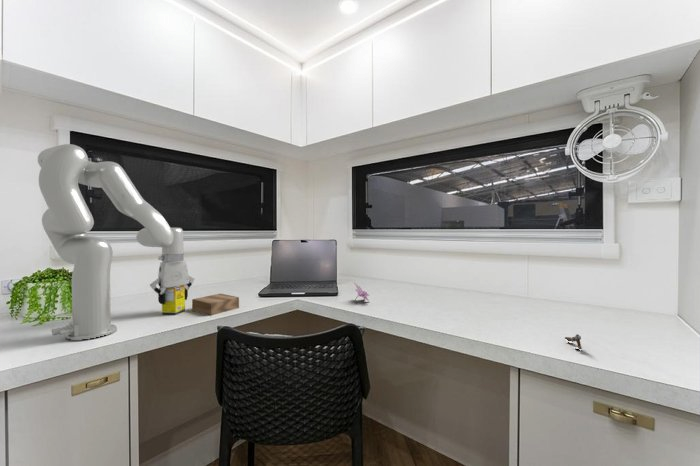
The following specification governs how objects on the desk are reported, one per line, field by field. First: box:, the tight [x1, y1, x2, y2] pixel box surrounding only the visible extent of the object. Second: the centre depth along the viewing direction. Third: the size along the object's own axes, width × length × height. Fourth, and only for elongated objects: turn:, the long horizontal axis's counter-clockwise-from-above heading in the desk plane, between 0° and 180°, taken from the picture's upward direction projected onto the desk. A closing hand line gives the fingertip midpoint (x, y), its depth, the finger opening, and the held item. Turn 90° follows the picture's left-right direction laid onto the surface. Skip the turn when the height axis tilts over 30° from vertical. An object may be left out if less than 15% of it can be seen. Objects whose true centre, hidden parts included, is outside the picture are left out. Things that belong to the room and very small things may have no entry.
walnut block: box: [191, 293, 240, 316], centre depth 130 cm, size 13×13×5 cm
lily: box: [353, 281, 370, 304], centre depth 142 cm, size 11×11×9 cm
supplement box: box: [161, 286, 186, 316], centre depth 124 cm, size 6×6×11 cm
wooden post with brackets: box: [564, 333, 583, 349], centre depth 90 cm, size 2×8×5 cm, turn 164°
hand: (173, 301), depth 124 cm, fingers closed on supplement box, 8 cm apart
